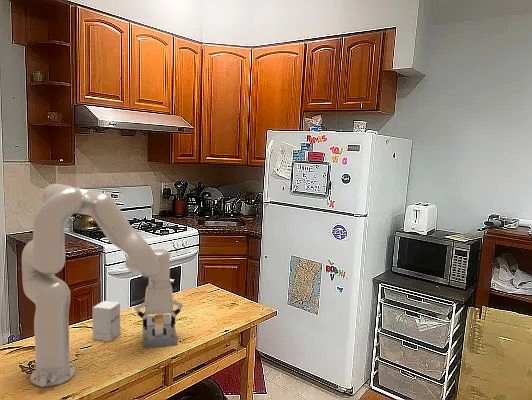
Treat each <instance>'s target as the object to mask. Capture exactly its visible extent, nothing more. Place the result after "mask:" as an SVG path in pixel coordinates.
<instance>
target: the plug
mask: <svg viewBox="0 0 532 400" xmlns="http://www.w3.org/2000/svg"><path fill="white" fill-rule="evenodd" d="M163 315H164V313H163V314H154V316H155V322H154V323H155V336H159V335H163Z"/></svg>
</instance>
